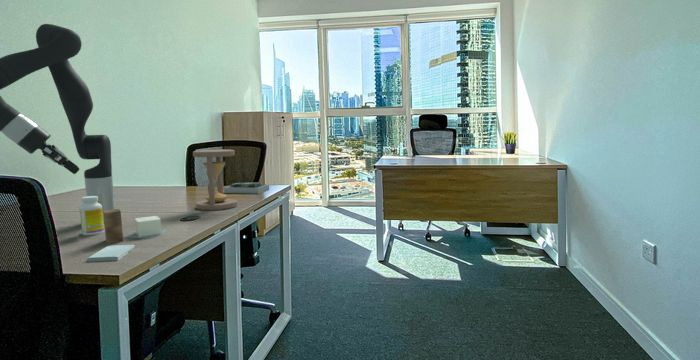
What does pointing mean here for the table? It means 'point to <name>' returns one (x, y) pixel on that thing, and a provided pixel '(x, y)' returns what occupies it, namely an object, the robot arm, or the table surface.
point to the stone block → (247, 185)
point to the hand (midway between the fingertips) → (76, 170)
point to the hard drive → (111, 253)
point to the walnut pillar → (113, 225)
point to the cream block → (148, 226)
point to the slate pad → (134, 235)
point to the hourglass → (215, 170)
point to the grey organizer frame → (246, 189)
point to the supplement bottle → (91, 216)
